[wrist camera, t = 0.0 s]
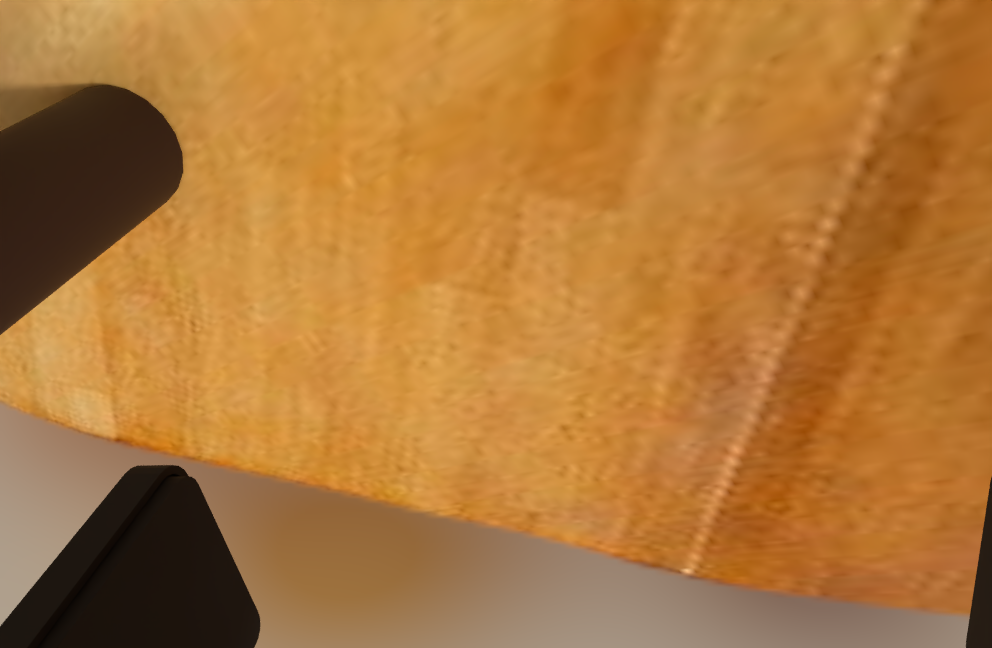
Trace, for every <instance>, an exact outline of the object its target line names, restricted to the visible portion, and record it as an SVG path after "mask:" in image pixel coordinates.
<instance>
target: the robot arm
mask: <svg viewBox="0 0 992 648" xmlns="http://www.w3.org/2000/svg"><path fill="white" fill-rule="evenodd" d="M259 632H260V617H259V614H258V611H257V609H256V606H255V604H254V602H253V600H252V598H251V596H250V594H249V592H248V589H247V587H246V585H245V583H244V581H243V579H242V577H241V574H240V572H239V570H238V568H237V566H236V564H235V562H234V560H233V557H232V555H231V553H230V551H229V549H228V547H227V545H226V542H225V540H224V538H223V536H222V534H221V532H220V529H219V528H218V525H217V523H216V521H215V519H214V517H213V514H212V512H211V510H210V508H209V506H208V504H207V502H206V500H205V497H204V495H203V493H202V491H201V489H200V487H199V484H198V483H197V482H196V480H195V479H194V478H192V477H189V476H188V474H187V473H186V472H185V470H184V469H182V468H181V467H179V466H174V465H164V466H163V465H158V466H156V465H155V466H136V467H133V468H131V469H130V470H129V471H127V472H126V473H125V474H124V476H123V477H122V478H121V479H120V480H119V482H118V483H117V484H116V485H115V487H114V488H113V489H112V490H111V492H110V493H109V494H108V495H107V497H106V498H105V499H104V500H103V501H102V503H101V504H100V505H99V506H98V508H97V509H96V510H95V511H94V512H93V514H92V515H91V516H90V517H89V518H88V520H87V521H86V522H85V523H84V525H83V526H82V527H81V528H80V529H79V531H78V532H77V533H76V534H75V536H74V537H73V538H72V539H71V541H70V542H69V543H68V544H67V545H66V547H65V548H64V549H63V550H62V552H61V553H60V554H59V555H58V557H57V558H56V559H55V560H54V561H53V563H52V564H51V565H50V566H49V567H48V569H47V570H46V571H45V572H44V573H43V575H42V576H41V577H40V579H39V580H38V581H37V582H36V583H35V585H34V586H33V587H32V588H31V589H30V591H29V592H28V593H27V595H26V596H25V597H24V598H23V599H22V600H21V602H20V603H19V604H18V605H17V607H16V608H15V609H14V610H13V611H12V613H11V614H10V615H9V616H8V618H7V619H6V620H5V621H4V622H3V624H2V625H1V626H0V648H254V647H255V645H256V642H257V640H258V636H259ZM966 648H992V478H991V482H990V489H989V495H988V502H987V508H986V515H985V521H984V528H983V534H982V541H981V547H980V554H979V561H978V567H977V574H976V580H975V587H974V593H973V600H972V606H971V613H970V619H969V626H968V633H967V640H966Z"/></svg>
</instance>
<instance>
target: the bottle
mask: <svg viewBox="0 0 992 648" xmlns="http://www.w3.org/2000/svg"><path fill="white" fill-rule="evenodd" d="M182 174H183V158H182V151H181V148H180V145H179V142H178V140H177V137H176V134H175V132H174V131H173V129H172V128H171V126H170V125H169V123H168V122H167V120H166V119H165V118H164V116H163V115H162V114H161V113H160V112H159V111H158V110H157V109H156V108H154V107H153V106H152V105H151V104H150V103H149V102H148V101H147V100H145V99H143V98H142V97H140V96H138V95H136V94H134V93H132V92H131V91H129V90H126V89H122V88H117V87H113V86H98V87H89V88H86V89H84V90H82V91H80V92H78V93H76V94H74V95H72V96H70V97H68V98H66V99H64V100H62V101H60V102H58V103H56V104H54V105H52V106H50V107H48V108H46V109H44V110H42V111H40V112H38V113H36V114H34V115H32V116H30V117H28V118H26V119H24V120H22V121H20V122H18V123H16V124H14V125H12V126H10V127H8V128H6V129H4V130H2V131H0V335H1V334H2V333H3V332H5V331H6V330H7V329H8V328H10V327H11V326H12V325H13V324H15V323H16V322H17V321H18V320H20V319H21V318H22V317H23V316H25V315H26V314H27V313H28V312H30V311H31V310H32V309H33V308H35V307H36V306H37V305H38V304H40V303H41V302H42V301H43V300H45V299H46V298H47V297H48V296H50V295H51V294H52V293H53V292H55V291H56V290H57V289H58V288H60V287H61V286H62V285H63V284H65V283H66V282H67V281H68V280H70V279H71V278H72V277H73V276H75V275H76V274H77V273H78V272H80V271H81V270H82V269H83V268H85V267H86V266H87V265H88V264H90V263H91V262H92V261H93V260H95V259H96V258H97V257H98V256H100V255H101V254H102V253H103V252H105V251H106V250H107V249H108V248H110V247H111V246H112V245H113V244H115V243H116V242H117V241H118V240H120V239H121V238H122V237H123V236H125V235H126V234H127V233H128V232H130V231H131V230H132V229H133V228H135V227H136V226H137V225H138V224H140V223H141V222H142V221H143V220H145V219H146V218H147V217H148V216H150V215H151V214H152V213H153V212H155V211H156V210H157V209H158V208H160V207H161V206H162V205H163V204H165V203H166V202H167V201H168V200H169V199H170V197H171V196H172V195H173V194H174V193H175V192H176V190H177V189H178V187H179V184H180V180H181V177H182Z"/></svg>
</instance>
